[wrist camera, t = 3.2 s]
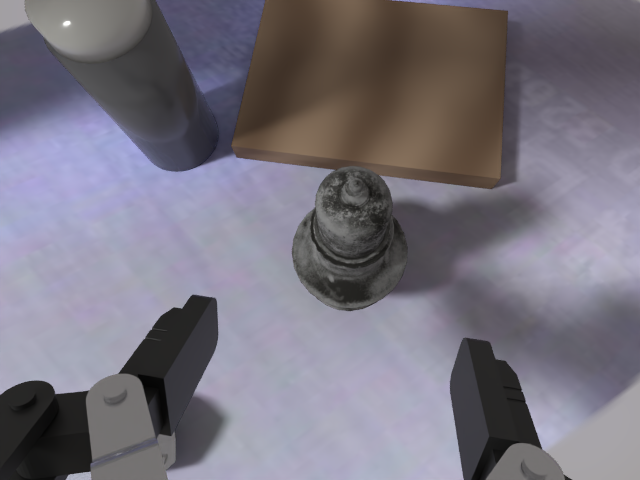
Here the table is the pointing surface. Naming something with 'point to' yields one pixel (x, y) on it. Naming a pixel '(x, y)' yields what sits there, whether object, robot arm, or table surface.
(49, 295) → the table surface
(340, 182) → the grey chess piece
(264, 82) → the walnut board
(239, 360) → the table surface
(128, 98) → the grey cylinder
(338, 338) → the table surface
